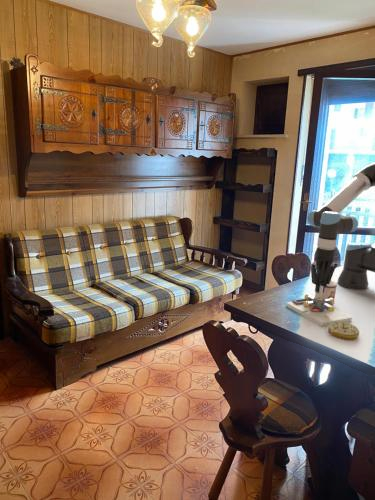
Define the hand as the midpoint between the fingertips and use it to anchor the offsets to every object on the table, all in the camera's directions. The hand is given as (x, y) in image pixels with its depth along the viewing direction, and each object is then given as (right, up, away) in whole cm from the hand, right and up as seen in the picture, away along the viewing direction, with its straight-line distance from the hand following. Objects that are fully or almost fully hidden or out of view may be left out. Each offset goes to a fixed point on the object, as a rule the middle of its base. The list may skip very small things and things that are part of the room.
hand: (318, 299), depth 172 cm
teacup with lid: (+7, -2, +10) cm, 12 cm away
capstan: (-2, -4, -6) cm, 8 cm away
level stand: (-2, -5, -6) cm, 8 cm away
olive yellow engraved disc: (+1, -11, -24) cm, 27 cm away
